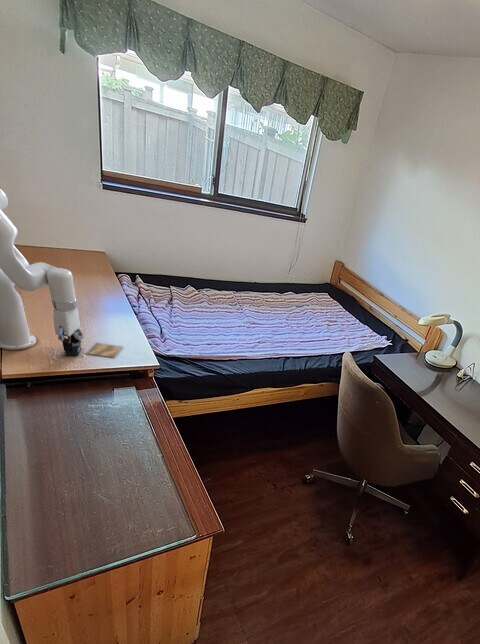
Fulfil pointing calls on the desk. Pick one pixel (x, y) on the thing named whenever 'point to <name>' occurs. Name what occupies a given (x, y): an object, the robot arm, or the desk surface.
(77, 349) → the watch
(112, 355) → the brown wooden square tile
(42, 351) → the desk surface
